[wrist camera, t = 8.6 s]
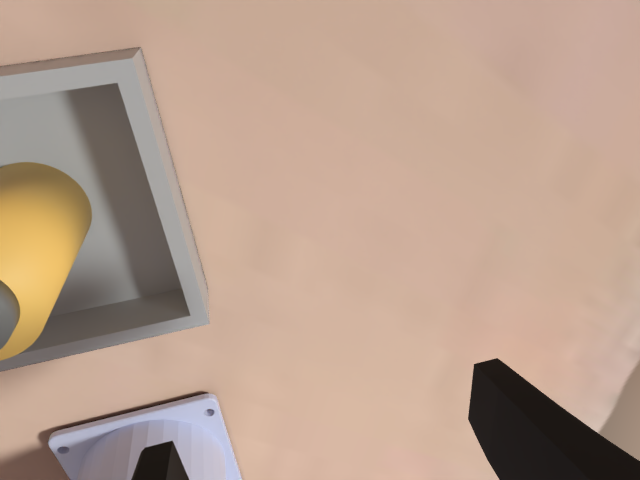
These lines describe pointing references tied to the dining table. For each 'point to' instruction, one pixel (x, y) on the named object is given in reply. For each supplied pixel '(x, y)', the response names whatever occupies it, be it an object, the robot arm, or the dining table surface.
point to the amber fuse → (36, 247)
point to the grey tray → (106, 201)
